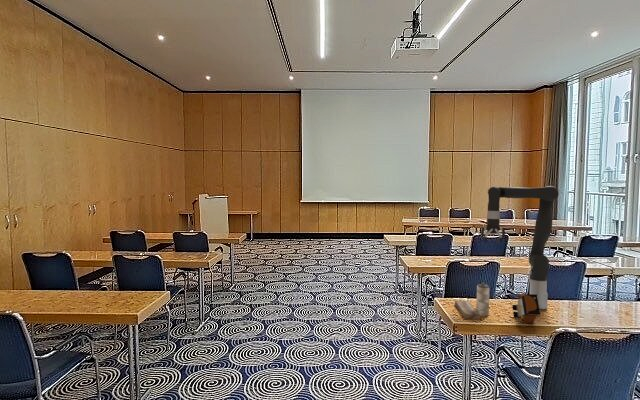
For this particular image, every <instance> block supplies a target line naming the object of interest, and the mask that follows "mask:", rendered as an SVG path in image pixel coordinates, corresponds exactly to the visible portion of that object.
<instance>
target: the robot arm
mask: <svg viewBox="0 0 640 400" xmlns="http://www.w3.org/2000/svg"><path fill="white" fill-rule="evenodd" d="M487 194H488V195H487V196H488V202H487V213H486V226H481V227H480V236H481V237H483V243H484V244H487V240H488V238H487V237H488V236H489V235H497V236H498V244H499V245H501V244H502V243H503V238H505V237H506V228H505V227H503V226H502V227H501V226H500V224H501V223H500V219H501V218H500V214H501V213H500V200H501V198H506V199H539V204H538V205H539V206H538V210H537V211H538V212H537V215H536V220H535V225H534V231H533V237H532V246H531V249H530V252H529V257H528V263H529V265H530V266H531V267H532V273H530V275H529V294H537V299H538V304H539V310H547V309H548V297H549V296H548V293H549V292H547V285H548V284H547V281H548V276H549V270H550V269H549V268H550V261H549V260H550V259H549V258H548V256H547V255H545V253H544V252H545V248H546V247H545V246H546V245H547V242H548V241H549V239H550V237H551V234H552V229H553V206H554V202H555V200H557V198H558V197H559V195H560V194H559V190H558V189H557V188H556V187H555V186H553V185H547V186H544V187H521V186H520V187H518V186H517V187H516V186H505V187H502V186H501V187H500V186H491V187H490V188H488V190H487ZM485 231H486V232H485ZM500 231H501V233H500Z"/></svg>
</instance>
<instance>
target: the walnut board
mask: <svg viewBox="0 0 640 400" xmlns="http://www.w3.org/2000/svg"><path fill="white" fill-rule="evenodd" d="M454 305H455V306H456V308H457V309H458V311H459V312H460V314H461V313H462V314H461V315H462V316H463V318H464V319H465V320H479V321H481V316H480V314H479V313H478V312H477V311H476V308H475V307H474V306H473V305H472V303H471V302H470V301H469V300H467V301H466V300H455V301H454Z"/></svg>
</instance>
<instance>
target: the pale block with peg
mask: <svg viewBox="0 0 640 400" xmlns="http://www.w3.org/2000/svg"><path fill="white" fill-rule="evenodd" d="M475 306H476V308H475V310H476V311H477V312H478V313H479V314H480V317H483V316H484V317H489V315H490V286H489V285H488V284H485V282H482V283H478V284H477V285H476V305H475Z"/></svg>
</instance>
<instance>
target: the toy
mask: <svg viewBox="0 0 640 400" xmlns="http://www.w3.org/2000/svg"><path fill="white" fill-rule="evenodd" d="M517 297H518V298H519V299H518V300H517V304H512V305H511V308H512V313H513V318H521V323H522V324H534V322H535V320H536V319H537V318H536V317H538V316H540V315H541V311H540V310H541V309H539V304H538V299H537V294H530V293H529V294H528V293H518V295H517Z"/></svg>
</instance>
